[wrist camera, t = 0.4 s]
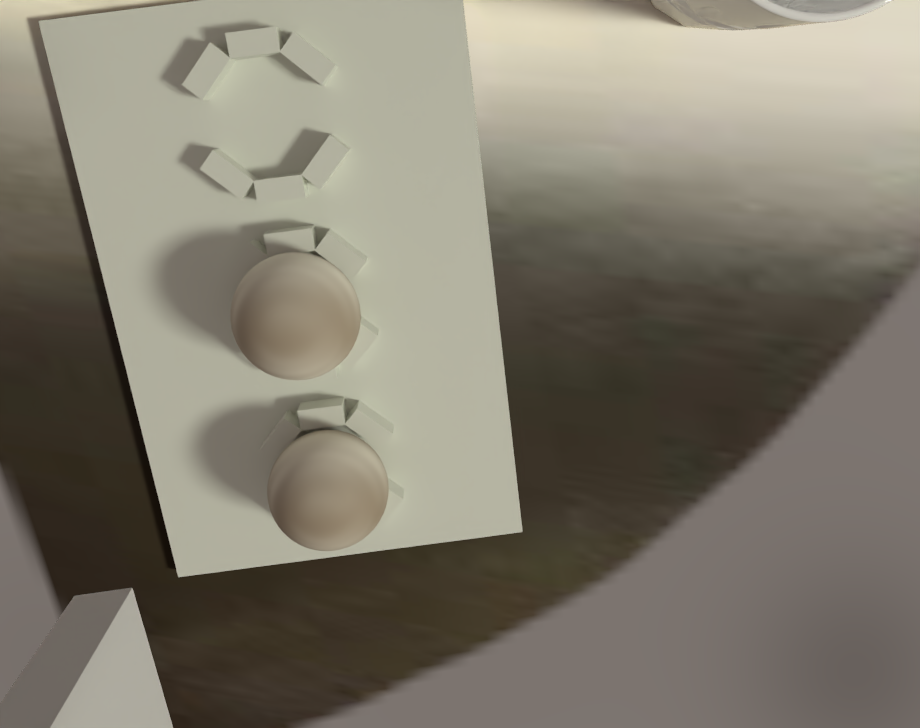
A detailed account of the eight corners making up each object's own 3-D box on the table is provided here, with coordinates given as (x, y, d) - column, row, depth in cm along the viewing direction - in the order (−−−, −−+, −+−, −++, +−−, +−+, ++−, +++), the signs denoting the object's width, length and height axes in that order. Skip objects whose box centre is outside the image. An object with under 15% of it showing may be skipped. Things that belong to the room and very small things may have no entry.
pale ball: (268, 420, 37) (245, 467, 32) (381, 405, 37) (375, 450, 32) (289, 522, 38) (270, 582, 33) (398, 508, 38) (394, 565, 34)
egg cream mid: (233, 251, 35) (203, 274, 30) (354, 235, 35) (343, 256, 30) (257, 366, 36) (232, 406, 31) (373, 351, 36) (365, 388, 31)
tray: (44, 22, 32) (25, 17, 31) (458, -31, 32) (460, -38, 31) (181, 570, 39) (171, 590, 38) (521, 525, 39) (525, 543, 38)
